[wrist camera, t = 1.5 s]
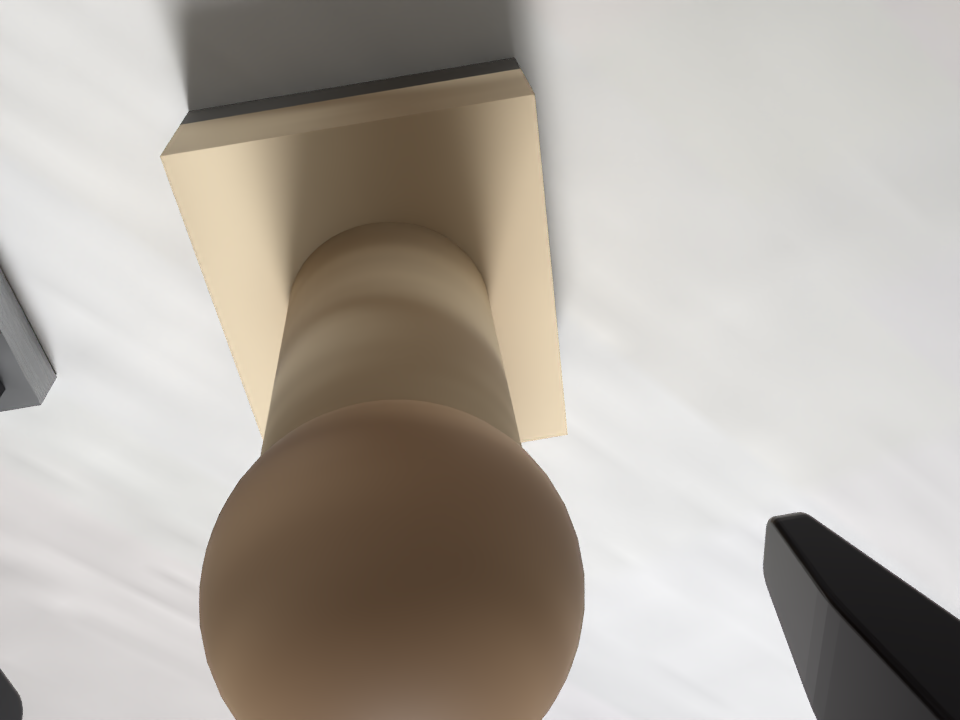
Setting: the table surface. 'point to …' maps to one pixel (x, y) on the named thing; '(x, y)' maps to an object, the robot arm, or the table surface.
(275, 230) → the wooden stamp
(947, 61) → the table surface
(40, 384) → the ink pad
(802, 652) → the robot arm
